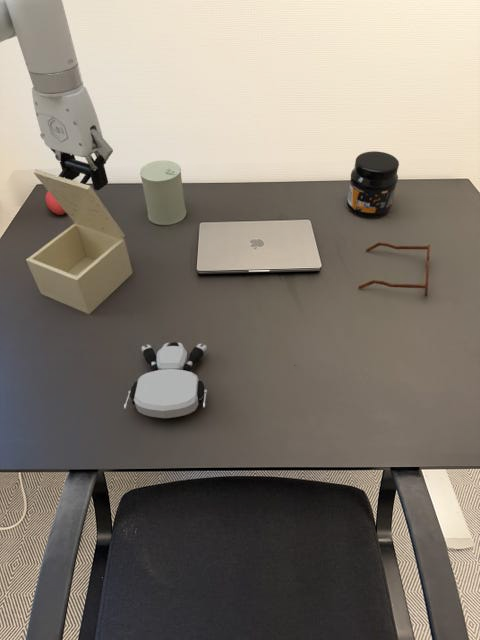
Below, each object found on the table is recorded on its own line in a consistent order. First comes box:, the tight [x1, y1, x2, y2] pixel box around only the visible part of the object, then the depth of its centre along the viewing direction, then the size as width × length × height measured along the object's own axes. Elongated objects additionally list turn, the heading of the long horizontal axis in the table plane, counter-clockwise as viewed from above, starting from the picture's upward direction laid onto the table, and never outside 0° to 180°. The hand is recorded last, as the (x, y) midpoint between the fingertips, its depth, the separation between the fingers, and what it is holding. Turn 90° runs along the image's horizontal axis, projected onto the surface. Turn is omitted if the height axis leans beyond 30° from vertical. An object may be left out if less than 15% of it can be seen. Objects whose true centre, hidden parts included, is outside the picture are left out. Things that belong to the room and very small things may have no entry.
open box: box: [25, 222, 133, 315], centre depth 93 cm, size 14×13×9 cm
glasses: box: [358, 242, 431, 297], centre depth 94 cm, size 13×13×5 cm
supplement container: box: [346, 150, 400, 219], centre depth 109 cm, size 10×10×12 cm
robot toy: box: [123, 341, 208, 419], centre depth 76 cm, size 12×4×15 cm
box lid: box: [33, 158, 126, 239], centre depth 88 cm, size 14×13×6 cm
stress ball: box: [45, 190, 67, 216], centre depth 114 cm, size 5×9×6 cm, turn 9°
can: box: [139, 160, 187, 226], centre depth 108 cm, size 9×9×12 cm
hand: (87, 181), depth 86 cm, fingers closed on box lid, 6 cm apart
